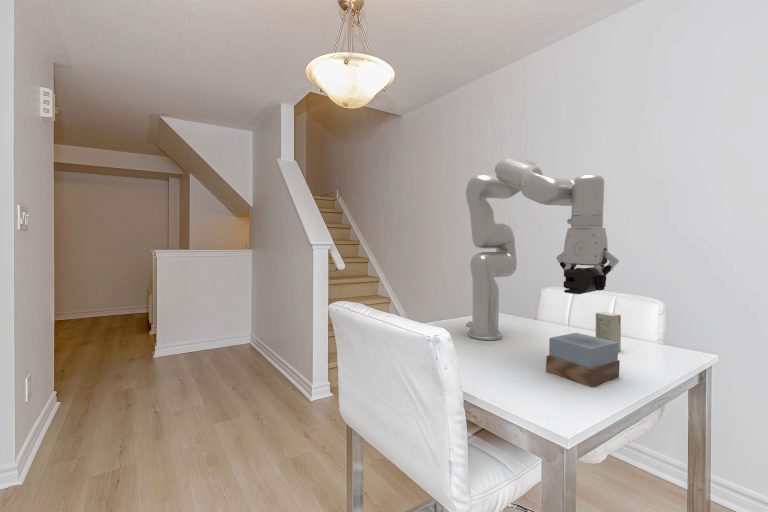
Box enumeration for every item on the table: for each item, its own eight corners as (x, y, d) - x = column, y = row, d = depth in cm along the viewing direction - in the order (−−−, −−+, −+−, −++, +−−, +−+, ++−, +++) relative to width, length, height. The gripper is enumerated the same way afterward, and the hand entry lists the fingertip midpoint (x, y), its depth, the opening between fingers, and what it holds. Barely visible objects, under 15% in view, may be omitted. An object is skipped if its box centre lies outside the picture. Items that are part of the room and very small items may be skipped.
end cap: (589, 296, 98) (590, 269, 98) (562, 292, 104) (563, 267, 104) (606, 292, 105) (607, 267, 104) (579, 289, 110) (580, 265, 110)
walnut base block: (545, 373, 107) (546, 356, 107) (572, 365, 114) (573, 348, 114) (592, 389, 96) (593, 369, 96) (618, 378, 103) (619, 360, 103)
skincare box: (621, 351, 126) (622, 314, 125) (611, 353, 124) (612, 315, 124) (603, 346, 132) (604, 311, 131) (594, 348, 130) (595, 312, 130)
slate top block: (549, 355, 107) (549, 337, 107) (575, 349, 113) (576, 332, 113) (590, 368, 97) (591, 349, 96) (617, 361, 103) (618, 342, 102)
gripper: (548, 223, 108) (547, 285, 109) (613, 221, 94) (610, 293, 95) (564, 223, 113) (562, 283, 114) (628, 222, 98) (625, 291, 99)
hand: (584, 287), depth 104 cm, fingers closed on end cap, 7 cm apart
